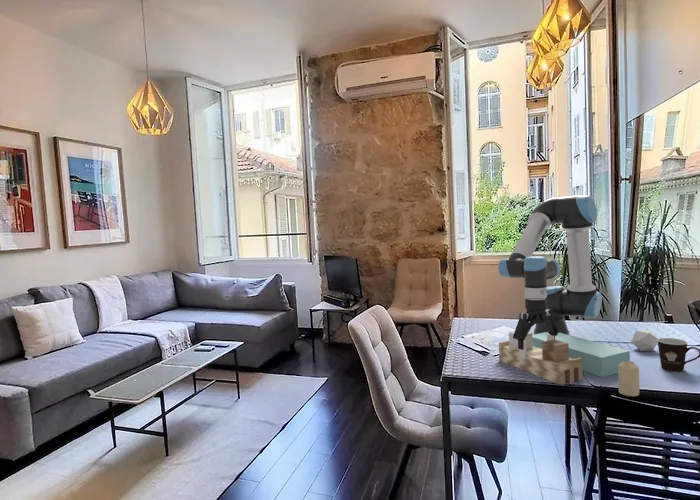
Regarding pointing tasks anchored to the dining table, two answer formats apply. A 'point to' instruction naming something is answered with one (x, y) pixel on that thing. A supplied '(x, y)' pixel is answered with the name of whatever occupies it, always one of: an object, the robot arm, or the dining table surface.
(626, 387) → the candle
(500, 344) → the board
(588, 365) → the dock
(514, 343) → the light grey cube
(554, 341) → the brown wooden cube
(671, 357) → the coffee mug
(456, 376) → the dining table surface
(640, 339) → the die
